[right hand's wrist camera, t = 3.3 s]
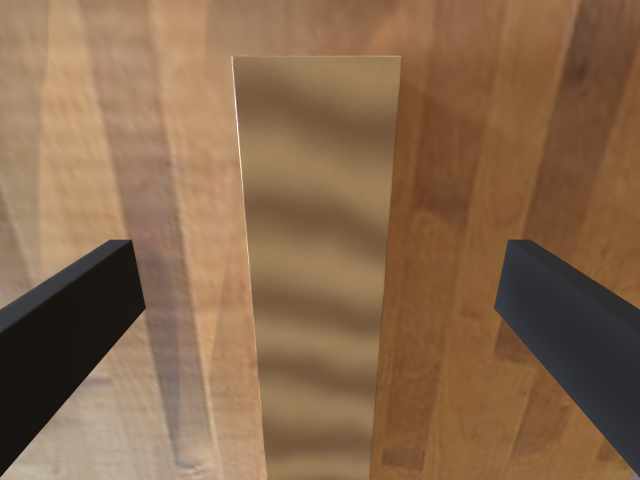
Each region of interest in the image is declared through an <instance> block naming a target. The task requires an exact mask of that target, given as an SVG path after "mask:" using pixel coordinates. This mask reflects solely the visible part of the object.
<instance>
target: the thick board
mask: <svg viewBox="0 0 640 480" xmlns="http://www.w3.org/2000/svg"><path fill="white" fill-rule="evenodd" d="M401 65H402V56H232V68H233V80H234V92H235V104H236V116H237V128H238V140H239V152H240V164H241V176H242V188H243V200H244V212H245V224H246V237H247V249H248V261H249V273H250V285H251V297H252V309H253V321H254V333H255V345H256V357H257V369H258V381H259V393H260V405H261V417H262V429H263V441H264V453H265V465H266V477H267V480H369V479H370V466H371V453H372V440H373V427H374V414H375V401H376V389H377V376H378V363H379V350H380V337H381V324H382V311H383V298H384V285H385V272H386V259H387V246H388V233H389V220H390V207H391V194H392V182H393V169H394V156H395V143H396V130H397V117H398V104H399V91H400V78H401Z"/></svg>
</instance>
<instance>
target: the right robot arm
mask: <svg viewBox="0 0 640 480" xmlns="http://www.w3.org/2000/svg"><path fill="white" fill-rule="evenodd" d="M145 308H146V307H145V302H144V297H143V292H142V287H141V282H140V278H139V273H138V268H137V263H136V258H135V253H134V248H133V243H132V240H109V241H107V242H106V243H104V244H102V245H101V246H99V247H98V248H96V249H95V250H93V251H91V252H90V253H88V254H87V255H85V256H84V257H82V258H80V259H79V260H77V261H76V262H74V263H73V264H71V265H69V266H68V267H66V268H65V269H63V270H62V271H60V272H59V273H57V274H55V275H54V276H52V277H51V278H49V279H48V280H46V281H44V282H43V283H41V284H40V285H38V286H37V287H35V288H33V289H32V290H30V291H29V292H27V293H26V294H24V295H23V296H21V297H19V298H18V299H16V300H15V301H13V302H12V303H10V304H8V305H7V306H5V307H4V308H2V309H1V310H0V477H1V476H2V475H3V474H4V472H5V471H6V470H7V469H8V468H9V467H10V465H11V464H12V463H13V462H14V461H15V460H16V459H17V457H18V456H19V455H20V454H21V453H22V452H23V450H24V449H25V448H26V447H27V446H28V445H29V443H30V442H31V441H32V440H33V439H34V438H35V436H36V435H37V434H38V433H39V432H40V431H41V429H42V428H43V427H44V426H45V425H46V424H47V422H48V421H49V420H50V419H51V418H52V417H53V415H54V414H55V413H56V412H57V411H58V410H59V408H60V407H61V406H62V405H63V404H64V403H65V402H66V400H67V399H68V398H69V397H70V396H71V395H72V393H73V392H74V391H75V390H76V389H77V388H78V386H79V385H80V384H81V383H82V382H83V381H84V379H85V378H86V377H87V376H88V375H89V374H90V372H91V371H92V370H93V369H94V368H95V367H96V365H97V364H98V363H99V362H100V361H101V360H102V358H103V357H104V356H105V355H106V354H107V353H108V352H109V350H110V349H111V348H112V347H113V346H114V345H115V343H116V342H117V341H118V340H119V339H120V338H121V336H122V335H123V334H124V333H125V332H126V331H127V329H128V328H129V327H130V326H131V325H132V324H133V322H134V321H135V320H136V319H137V318H138V317H139V315H140V314H141V313H142V312H143V311H144V310H145ZM494 308H495V310H496V311H497V312H498V313H499V314H500V315H501V317H502V318H503V319H504V320H505V321H506V322H507V324H508V325H509V326H510V327H511V328H512V329H513V331H514V332H515V333H516V334H517V335H518V336H519V338H520V339H521V340H522V341H523V342H524V343H525V345H526V346H527V347H528V348H529V349H530V350H531V352H532V353H533V354H534V355H535V356H536V357H537V358H538V360H539V361H540V362H541V363H542V364H543V365H544V367H545V368H546V369H547V370H548V371H549V372H550V374H551V375H552V376H553V377H554V378H555V379H556V381H557V382H558V383H559V384H560V385H561V386H562V388H563V389H564V390H565V391H566V392H567V393H568V395H569V396H570V397H571V398H572V399H573V400H574V402H575V403H576V404H577V405H578V406H579V407H580V408H581V410H582V411H583V412H584V413H585V414H586V415H587V417H588V418H589V419H590V420H591V421H592V422H593V424H594V425H595V426H596V427H597V428H598V429H599V431H600V432H601V433H602V434H603V435H604V436H605V438H606V439H607V440H608V441H609V442H610V443H611V445H612V446H613V447H614V448H615V449H616V450H617V452H618V453H619V454H620V455H621V456H622V457H623V459H624V460H625V461H626V462H627V463H628V464H629V465H630V467H631V468H632V469H633V470H634V471H635V472H636V474H637V475H638V476H639V477H640V310H639V309H638V308H636V307H635V306H633V305H632V304H630V303H628V302H627V301H625V300H624V299H622V298H621V297H619V296H617V295H616V294H614V293H613V292H611V291H610V290H608V289H607V288H605V287H603V286H602V285H600V284H599V283H597V282H596V281H594V280H592V279H591V278H589V277H588V276H586V275H585V274H583V273H581V272H580V271H578V270H577V269H575V268H574V267H572V266H571V265H569V264H567V263H566V262H564V261H563V260H561V259H560V258H558V257H556V256H555V255H553V254H552V253H550V252H549V251H547V250H545V249H544V248H542V247H541V246H539V245H538V244H536V243H534V242H533V241H531V240H508V243H507V248H506V253H505V258H504V263H503V268H502V273H501V278H500V282H499V287H498V292H497V297H496V302H495V307H494Z"/></svg>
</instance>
